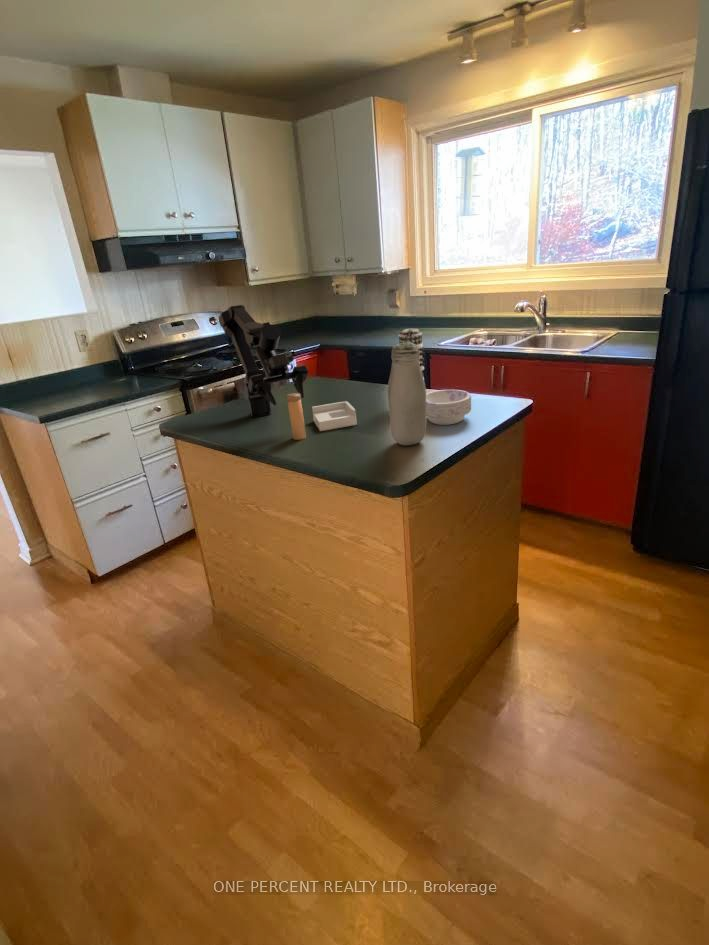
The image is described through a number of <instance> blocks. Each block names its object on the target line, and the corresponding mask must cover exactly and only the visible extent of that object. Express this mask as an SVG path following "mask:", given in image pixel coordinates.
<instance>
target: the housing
mask: <svg viewBox="0 0 709 945" xmlns="http://www.w3.org/2000/svg"><path fill="white" fill-rule="evenodd" d="M311 409H312V411H311V412H312V417H313V423H314V424H315V426H316V427H317V428H318V430H319V432H322V431H329V430H334V429H339V428H345V427H351V426H356V425H358V421H357V410H356V409H355V408H354V406H352V404H351V403H349V401H347V400H345V401H338V402H332V403H326V404H321V405H314V406H311Z"/></svg>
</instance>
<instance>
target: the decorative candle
mask: <svg viewBox="0 0 709 945" xmlns="http://www.w3.org/2000/svg"><path fill="white" fill-rule="evenodd" d="M422 335H423V332H421V331H420V329H418V328H412V327H411V328H404V329H402V330H401V331H400V332H399V333H398V337H399V343H404V342H412V343H414V344H415V345H416V346H417V347H418V350H419V354H420V357H419V363H420V370H421V372H422V376H423V379H424V380H425V377H424V370H425V364H426V363H424V362H425V358H424V357H423V356H424V355H425V354H426V353H425V352H424V351H425V349H426V348H425V347H424V346H423V336H422ZM399 343H398V344H399ZM424 383H425V384H426V382H425V381H424Z"/></svg>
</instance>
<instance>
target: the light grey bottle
mask: <svg viewBox="0 0 709 945" xmlns="http://www.w3.org/2000/svg"><path fill="white" fill-rule="evenodd" d="M390 356H391V360H392V362H391V368H390V374H389V378H388V383H387V400H388V401H387V402H388V414H389V423H390V424H389V426H390V433H391V436H392V439H393V440H394V441H395V442H396V443H397V444H399V445H401V446H413V445H417V444H418V443H420V442H421V441H423V440H424V438H425V435H426V432H427V417H426V394H427V389H426V388H427V387H426V382H425V378H424V379H423V377H424V375H423V376H422V372H421V370H420V363H419V357H420V354H419V350H418V347H417V346H416V345H415V344H414V343H412V342H404V343H397V344H395V345H394V346H392V349H391V355H390ZM424 382H425V383H424Z"/></svg>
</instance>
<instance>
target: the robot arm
mask: <svg viewBox="0 0 709 945" xmlns="http://www.w3.org/2000/svg"><path fill="white" fill-rule="evenodd" d="M218 322H219V326H220V327H221V328H222V330H223V333H224V334H225V335H227V336H228V337H229V338H231V340H232V343H233V344H234V348H235V351H236V354H237V356H238V358H239V361H240V364H241V366H242V368H243V371H244V374H245V376H244V380H243V384H244V385H243V389H242V390H243V391H242V395H243V398H244V400H246V401H248V402H249V406H250V414H251V415H250V416H251V417H252V418H257V417H264V416H270V415H271V412H272V410H271V404H272V405H273V406H276V405H277V402H276V399H275V397H274V395H273V393H272V384H274V383H278V382H283V381H289V380H292V382H293V383H294V384H293V386H294V388H295V390H296V391H297V392H296V393H300V396H301V399H304V396H305V395H304V386H303V383H304V382H305V381H306V379H307V377H308V374H309V371H310V370H309V369H308V366H307V365H306V364H301V365H296V366H293V368H292V371H290V372H286V371H288V365H291V364H290V363H292V362H293V361H294V356H293V353H292V352H291V351H290V350H287V351H284V352H283V353H279V354H278V353H277V351H276V350H277V349H278V346H279V342H280V337H281V330H280V328H279V327H278V326H276V325H274V324H271V323H270V321H268V322H263V323H261V322H257V321H256V320H255V319H254V318H253V316H251V314H250V313H249V312H248V311H247V310H246V307H245V305H244V304H243V305H242V304H237V305H231V306H229V307H228V308H227V309H226V310H225V311H223V312H221V313H220V314H219V317H218ZM254 347H256V348H255V354H256V359H258V361H259V362H260V364H261V367H262V368H261V369H260V368H259V367H258V366H257V362H256V361H255V357H254V356H253V352H252V349H251V348H254ZM270 403H271V404H270Z"/></svg>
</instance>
